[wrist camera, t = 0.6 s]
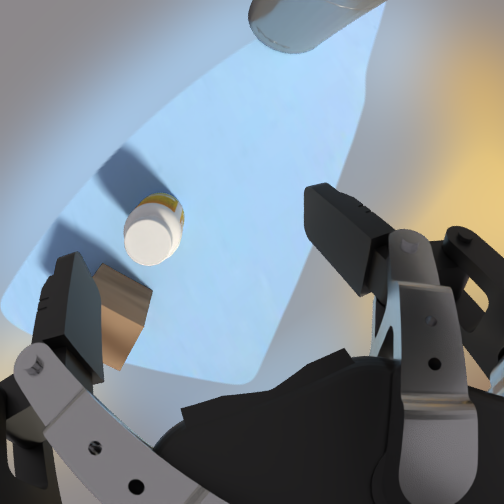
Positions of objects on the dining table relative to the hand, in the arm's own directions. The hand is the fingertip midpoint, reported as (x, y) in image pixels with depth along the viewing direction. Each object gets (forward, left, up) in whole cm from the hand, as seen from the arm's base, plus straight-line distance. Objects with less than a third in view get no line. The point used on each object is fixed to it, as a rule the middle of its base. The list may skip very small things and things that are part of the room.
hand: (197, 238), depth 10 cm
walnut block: (+18, -1, -24) cm, 30 cm away
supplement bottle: (+6, -1, -24) cm, 25 cm away
